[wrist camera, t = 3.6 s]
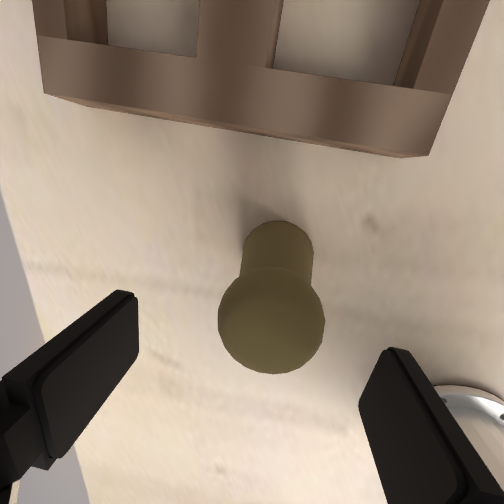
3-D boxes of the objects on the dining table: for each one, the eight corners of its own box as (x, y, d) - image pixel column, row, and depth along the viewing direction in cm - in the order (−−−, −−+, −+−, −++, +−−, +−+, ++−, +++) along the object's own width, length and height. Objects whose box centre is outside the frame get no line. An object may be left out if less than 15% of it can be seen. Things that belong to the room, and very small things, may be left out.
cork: (231, 237, 20) (174, 306, 10) (297, 208, 19) (309, 256, 9) (260, 295, 22) (236, 407, 12) (323, 273, 20) (361, 379, 10)
